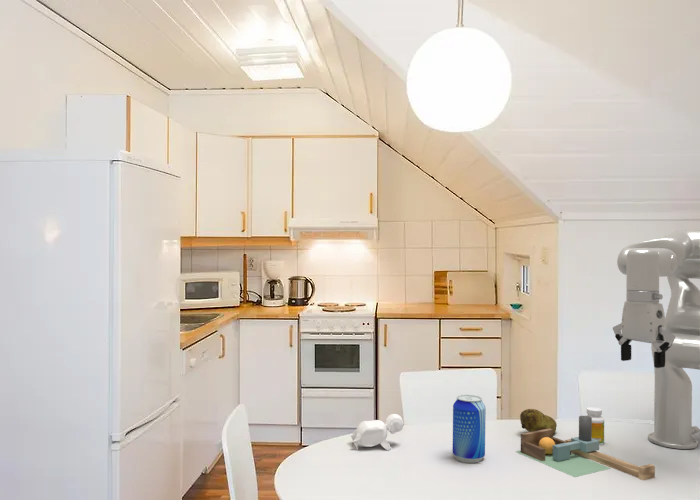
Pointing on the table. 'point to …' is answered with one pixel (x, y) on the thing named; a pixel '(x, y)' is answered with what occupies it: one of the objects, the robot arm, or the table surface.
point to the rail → (619, 464)
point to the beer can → (469, 428)
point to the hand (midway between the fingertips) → (642, 363)
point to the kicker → (577, 441)
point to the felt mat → (571, 464)
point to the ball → (547, 444)
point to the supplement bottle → (597, 424)
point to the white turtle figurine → (376, 432)
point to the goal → (537, 443)
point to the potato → (536, 421)
